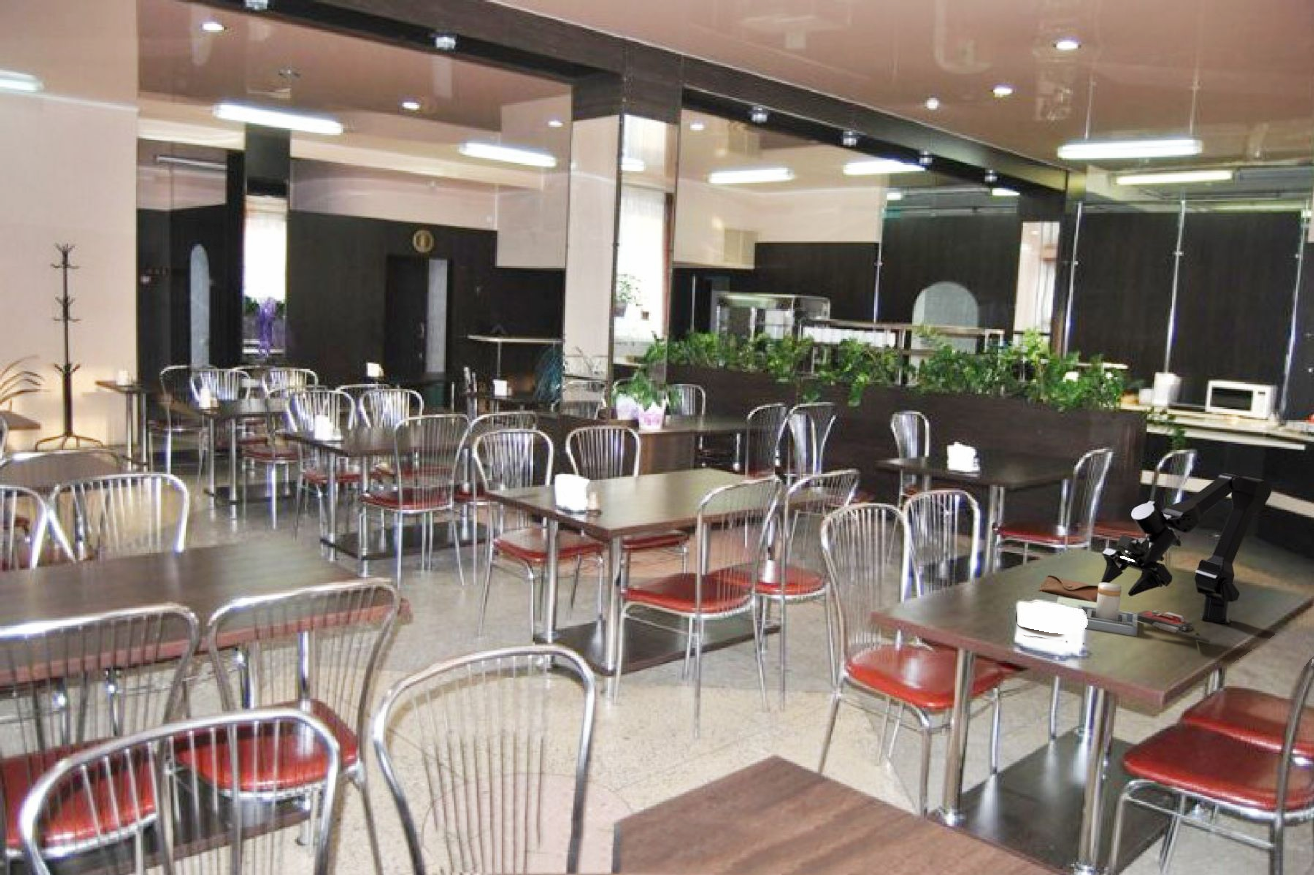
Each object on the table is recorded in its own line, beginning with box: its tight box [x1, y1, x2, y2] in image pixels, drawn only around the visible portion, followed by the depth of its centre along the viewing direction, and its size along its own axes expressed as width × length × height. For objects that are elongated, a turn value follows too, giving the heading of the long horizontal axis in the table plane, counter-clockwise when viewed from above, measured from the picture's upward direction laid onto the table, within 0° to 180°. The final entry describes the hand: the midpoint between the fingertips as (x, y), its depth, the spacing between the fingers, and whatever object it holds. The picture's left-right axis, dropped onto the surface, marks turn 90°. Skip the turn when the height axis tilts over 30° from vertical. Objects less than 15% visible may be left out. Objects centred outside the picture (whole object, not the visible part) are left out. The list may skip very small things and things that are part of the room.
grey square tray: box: [1078, 605, 1138, 637], centre depth 254 cm, size 14×14×3 cm
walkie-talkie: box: [1136, 609, 1211, 643], centre depth 253 cm, size 9×4×20 cm
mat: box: [1056, 596, 1097, 608], centre depth 270 cm, size 11×11×1 cm
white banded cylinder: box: [1095, 582, 1122, 621], centre depth 253 cm, size 5×5×10 cm
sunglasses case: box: [1038, 575, 1099, 602], centre depth 284 cm, size 18×7×7 cm, turn 46°
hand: (1115, 590), depth 253 cm, fingers open, 9 cm apart
